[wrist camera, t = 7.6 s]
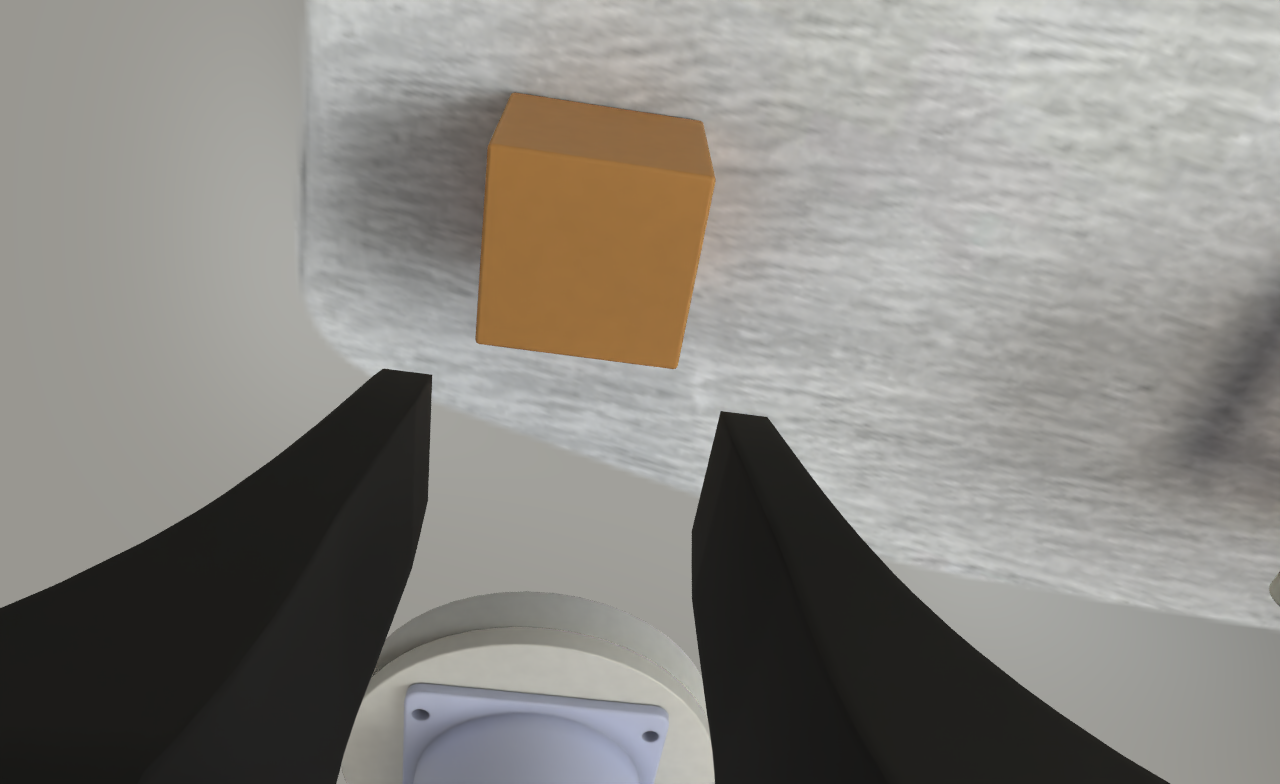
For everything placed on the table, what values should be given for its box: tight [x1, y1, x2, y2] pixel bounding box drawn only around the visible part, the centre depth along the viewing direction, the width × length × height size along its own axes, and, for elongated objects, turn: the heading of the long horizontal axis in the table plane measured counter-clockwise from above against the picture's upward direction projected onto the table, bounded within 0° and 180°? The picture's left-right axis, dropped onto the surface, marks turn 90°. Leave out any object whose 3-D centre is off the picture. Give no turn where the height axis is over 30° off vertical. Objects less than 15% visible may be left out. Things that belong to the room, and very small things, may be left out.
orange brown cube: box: [475, 93, 715, 369], centre depth 18 cm, size 4×4×4 cm
